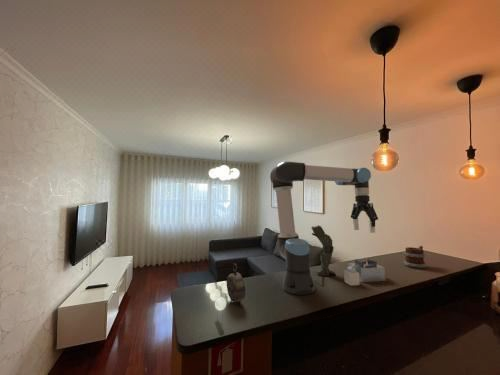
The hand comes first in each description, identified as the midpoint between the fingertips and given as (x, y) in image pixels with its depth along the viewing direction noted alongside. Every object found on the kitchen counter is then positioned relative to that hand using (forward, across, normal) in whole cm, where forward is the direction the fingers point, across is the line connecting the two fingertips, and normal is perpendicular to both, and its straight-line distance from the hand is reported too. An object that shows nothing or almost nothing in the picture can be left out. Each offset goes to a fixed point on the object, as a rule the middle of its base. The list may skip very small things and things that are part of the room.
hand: (364, 231), depth 121 cm
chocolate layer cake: (+25, +10, -44) cm, 52 cm away
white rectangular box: (+25, -4, +3) cm, 26 cm away
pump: (+26, -9, +16) cm, 31 cm away
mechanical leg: (+26, +7, +23) cm, 35 cm away
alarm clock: (+26, -20, +78) cm, 85 cm away
